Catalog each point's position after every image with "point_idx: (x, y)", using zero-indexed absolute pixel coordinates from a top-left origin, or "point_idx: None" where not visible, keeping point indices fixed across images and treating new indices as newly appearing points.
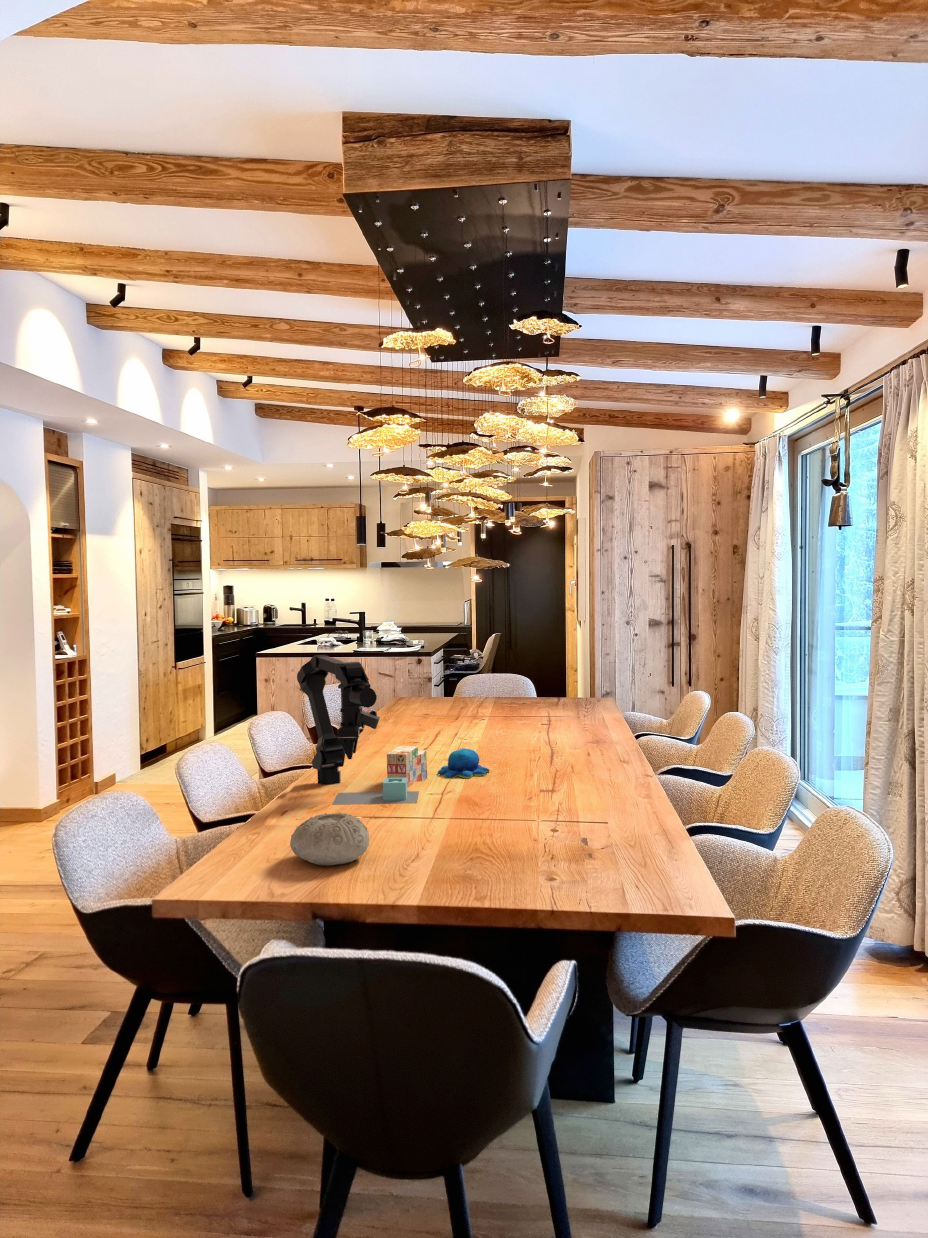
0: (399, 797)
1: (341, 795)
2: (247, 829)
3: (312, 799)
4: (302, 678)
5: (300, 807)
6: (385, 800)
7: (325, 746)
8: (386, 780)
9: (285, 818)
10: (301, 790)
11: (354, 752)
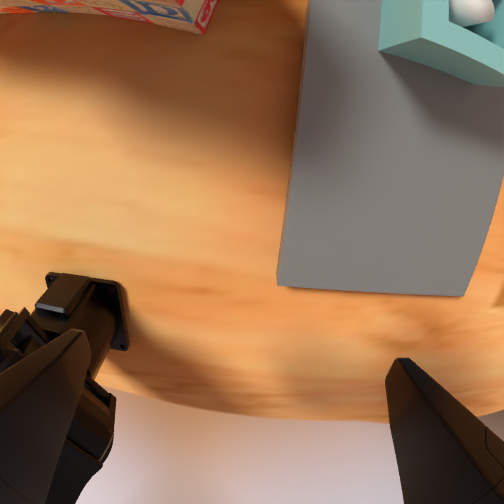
0: None
1: (337, 270)
2: (487, 411)
3: (278, 356)
4: None
5: (377, 373)
6: None
7: (78, 483)
8: (487, 49)
9: (463, 380)
10: (141, 382)
11: (82, 340)
